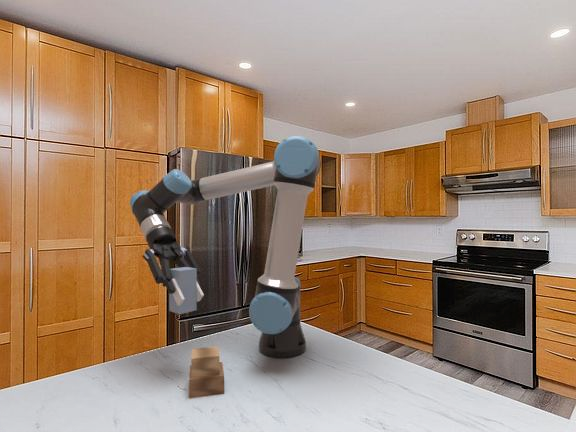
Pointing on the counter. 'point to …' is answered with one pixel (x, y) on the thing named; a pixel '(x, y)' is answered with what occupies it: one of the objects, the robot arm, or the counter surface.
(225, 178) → the robot arm
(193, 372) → the tower top
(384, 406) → the counter surface
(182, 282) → the slate block
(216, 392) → the tower base
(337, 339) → the counter surface
